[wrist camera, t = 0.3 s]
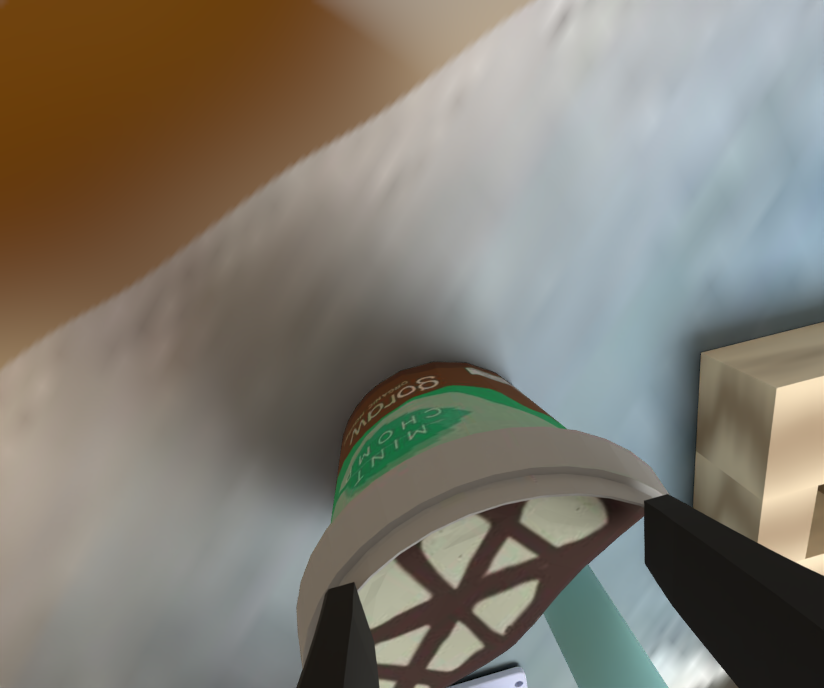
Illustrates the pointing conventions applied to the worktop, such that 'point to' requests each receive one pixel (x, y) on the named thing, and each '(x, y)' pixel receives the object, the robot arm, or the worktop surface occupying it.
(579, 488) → the food container
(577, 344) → the worktop surface
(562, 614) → the peg
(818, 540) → the hole block
